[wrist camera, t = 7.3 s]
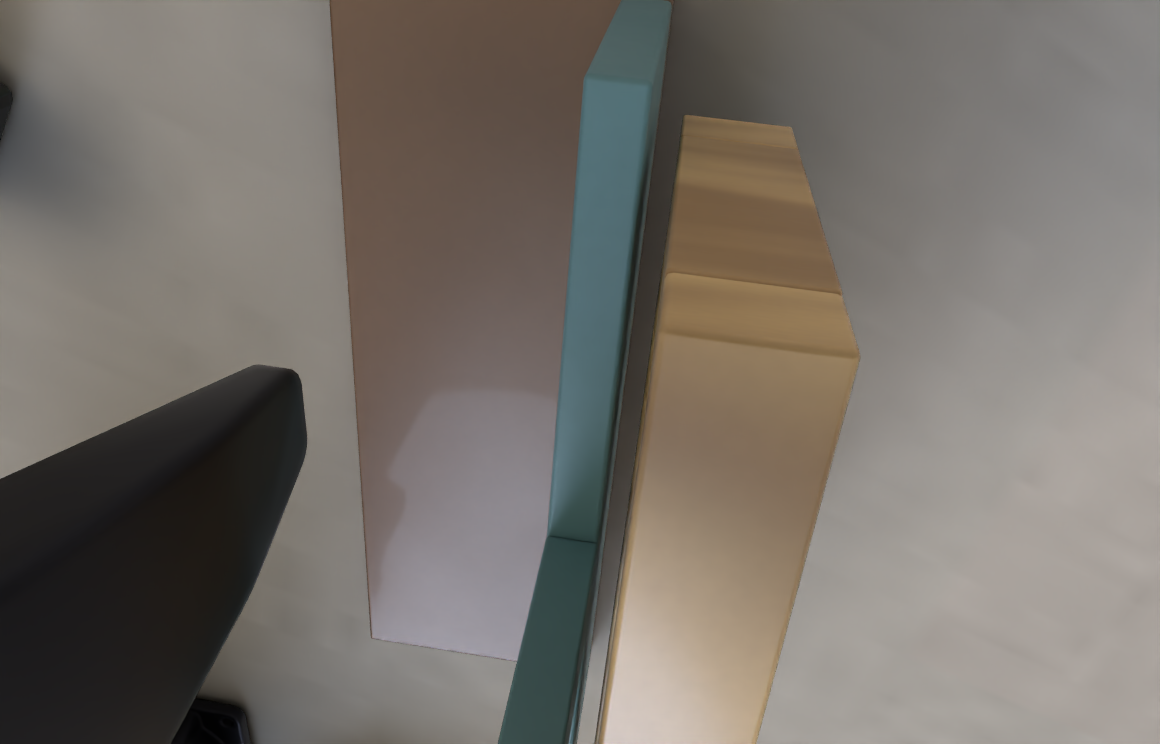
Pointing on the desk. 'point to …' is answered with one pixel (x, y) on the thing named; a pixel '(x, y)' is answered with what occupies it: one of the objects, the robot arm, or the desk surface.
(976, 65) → the desk surface
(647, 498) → the picture frame
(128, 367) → the desk surface
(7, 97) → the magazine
